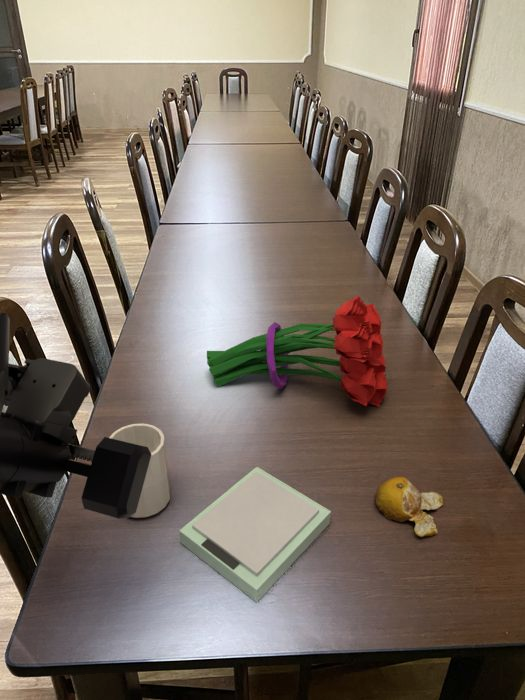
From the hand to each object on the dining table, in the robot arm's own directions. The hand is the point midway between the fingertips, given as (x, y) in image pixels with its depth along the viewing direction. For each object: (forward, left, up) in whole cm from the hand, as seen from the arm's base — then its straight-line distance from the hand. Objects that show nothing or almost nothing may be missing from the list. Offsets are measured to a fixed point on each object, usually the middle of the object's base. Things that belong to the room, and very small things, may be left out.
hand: (93, 464), depth 56 cm
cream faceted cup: (+7, +3, -13) cm, 16 cm away
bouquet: (+40, +4, -14) cm, 42 cm away
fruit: (+28, -24, -14) cm, 40 cm away
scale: (+13, -11, -13) cm, 22 cm away
